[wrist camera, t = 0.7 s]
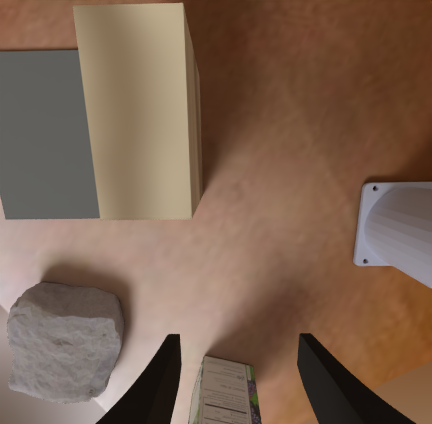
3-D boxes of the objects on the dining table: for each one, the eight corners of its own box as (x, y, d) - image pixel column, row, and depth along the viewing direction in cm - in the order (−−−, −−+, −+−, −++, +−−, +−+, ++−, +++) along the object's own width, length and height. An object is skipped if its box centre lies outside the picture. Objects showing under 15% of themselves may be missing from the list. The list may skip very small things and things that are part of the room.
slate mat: (129, 50, 18) (127, 48, 18) (143, 216, 21) (142, 217, 21) (-28, 54, 19) (-32, 52, 18) (8, 218, 22) (5, 219, 21)
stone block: (132, 282, 25) (29, 275, 23) (124, 312, 21) (-6, 307, 18) (122, 365, 28) (30, 366, 26) (113, 407, 24) (0, 413, 21)
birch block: (199, 76, 19) (183, 2, 10) (202, 195, 21) (191, 219, 12) (140, 78, 19) (72, 5, 10) (149, 195, 21) (100, 220, 12)
